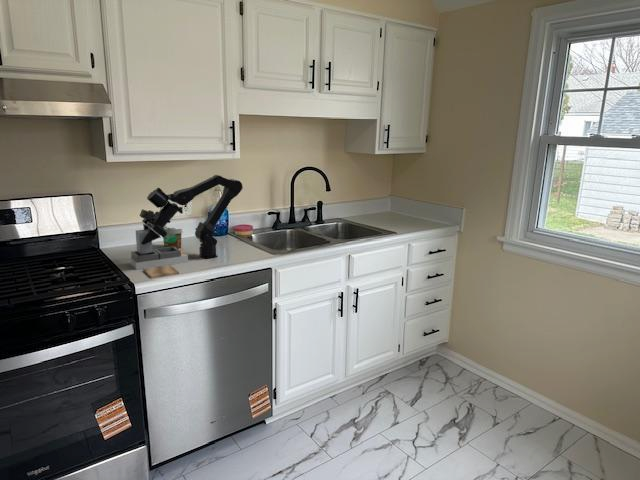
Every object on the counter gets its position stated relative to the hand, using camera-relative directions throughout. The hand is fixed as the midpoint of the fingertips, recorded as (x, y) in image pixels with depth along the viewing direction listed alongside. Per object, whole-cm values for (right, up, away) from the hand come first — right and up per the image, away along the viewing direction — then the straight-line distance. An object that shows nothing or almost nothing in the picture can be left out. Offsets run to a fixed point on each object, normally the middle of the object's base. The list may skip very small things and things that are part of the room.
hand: (140, 242), depth 196 cm
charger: (+1, -4, +2) cm, 4 cm away
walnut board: (+11, -12, -6) cm, 17 cm away
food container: (+2, -3, +32) cm, 32 cm away
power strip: (+6, -9, +7) cm, 13 cm away
